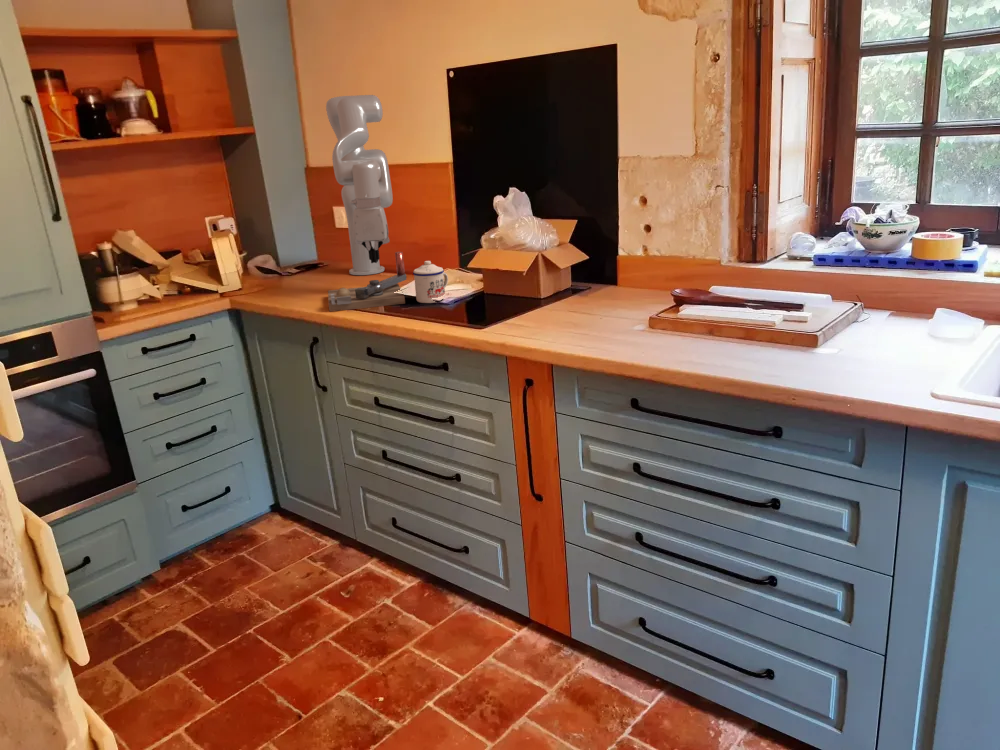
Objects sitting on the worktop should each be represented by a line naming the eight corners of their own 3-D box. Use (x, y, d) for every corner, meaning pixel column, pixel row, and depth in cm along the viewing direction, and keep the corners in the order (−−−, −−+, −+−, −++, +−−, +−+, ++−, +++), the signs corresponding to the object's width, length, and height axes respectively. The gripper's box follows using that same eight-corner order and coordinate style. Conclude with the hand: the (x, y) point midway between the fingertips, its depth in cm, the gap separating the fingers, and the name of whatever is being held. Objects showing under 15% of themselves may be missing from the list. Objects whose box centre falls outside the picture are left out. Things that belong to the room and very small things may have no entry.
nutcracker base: (328, 296, 238) (326, 277, 236) (398, 289, 242) (396, 270, 240) (329, 312, 218) (326, 291, 216) (405, 304, 222) (403, 283, 220)
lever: (397, 281, 242) (394, 251, 239) (409, 282, 240) (406, 251, 237) (356, 298, 223) (352, 265, 220) (369, 298, 221) (365, 266, 218)
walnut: (337, 300, 223) (335, 287, 222) (350, 299, 224) (349, 285, 223) (337, 303, 219) (335, 290, 218) (351, 302, 220) (349, 288, 219)
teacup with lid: (430, 304, 220) (426, 265, 216) (409, 301, 226) (405, 262, 222) (459, 296, 228) (456, 258, 224) (438, 293, 234) (435, 255, 230)
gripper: (341, 206, 230) (348, 265, 237) (390, 204, 229) (395, 263, 236) (347, 202, 237) (354, 260, 244) (394, 200, 236) (400, 258, 243)
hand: (374, 261), depth 240 cm, fingers closed
